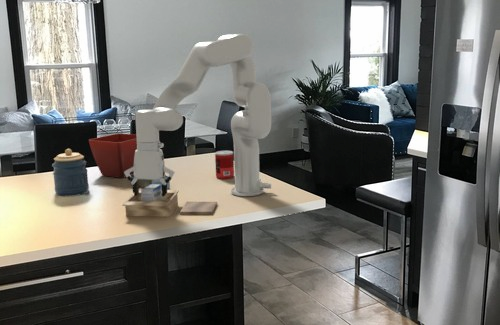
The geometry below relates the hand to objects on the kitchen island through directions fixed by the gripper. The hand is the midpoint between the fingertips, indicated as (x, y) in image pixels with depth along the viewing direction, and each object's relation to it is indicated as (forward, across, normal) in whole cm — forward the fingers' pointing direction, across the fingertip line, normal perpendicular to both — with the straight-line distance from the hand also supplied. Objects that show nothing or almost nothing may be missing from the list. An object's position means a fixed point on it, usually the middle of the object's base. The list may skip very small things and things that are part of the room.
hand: (150, 195), depth 187 cm
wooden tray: (+6, 0, 0) cm, 6 cm away
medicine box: (+6, 0, 0) cm, 6 cm away
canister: (+6, +38, -24) cm, 46 cm away
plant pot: (+6, +28, -55) cm, 63 cm away
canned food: (+5, -20, -49) cm, 53 cm away
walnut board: (+5, -16, -2) cm, 18 cm away
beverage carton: (+6, +8, -33) cm, 34 cm away
